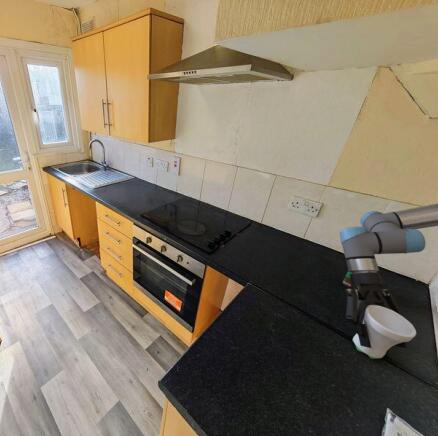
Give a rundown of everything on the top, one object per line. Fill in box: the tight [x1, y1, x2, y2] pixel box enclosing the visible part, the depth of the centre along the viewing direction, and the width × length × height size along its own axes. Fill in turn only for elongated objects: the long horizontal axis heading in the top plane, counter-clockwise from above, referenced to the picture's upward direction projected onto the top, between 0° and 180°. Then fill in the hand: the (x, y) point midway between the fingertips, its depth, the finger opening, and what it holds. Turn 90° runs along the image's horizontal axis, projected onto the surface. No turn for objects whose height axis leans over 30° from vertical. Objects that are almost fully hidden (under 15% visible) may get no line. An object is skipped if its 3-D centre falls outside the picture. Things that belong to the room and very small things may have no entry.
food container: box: [341, 270, 355, 289], centre depth 98 cm, size 12×6×10 cm, turn 105°
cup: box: [351, 304, 417, 360], centre depth 71 cm, size 11×11×14 cm
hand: (383, 346), depth 69 cm, fingers closed on cup, 10 cm apart
